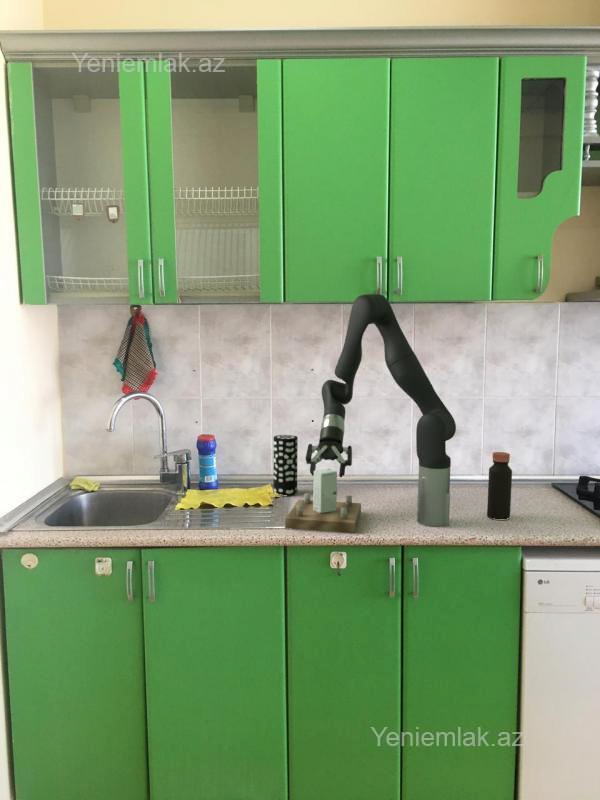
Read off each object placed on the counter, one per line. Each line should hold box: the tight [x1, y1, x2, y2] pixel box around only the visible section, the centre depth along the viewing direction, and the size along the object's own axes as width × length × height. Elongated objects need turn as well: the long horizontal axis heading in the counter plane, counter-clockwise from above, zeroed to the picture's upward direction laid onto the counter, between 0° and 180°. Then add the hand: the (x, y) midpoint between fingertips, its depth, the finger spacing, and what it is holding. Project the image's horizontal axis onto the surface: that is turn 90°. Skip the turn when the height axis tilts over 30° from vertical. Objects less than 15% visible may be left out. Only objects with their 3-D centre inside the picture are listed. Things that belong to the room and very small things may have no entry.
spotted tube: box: [272, 434, 299, 497], centre depth 214 cm, size 8×8×20 cm
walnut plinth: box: [284, 492, 362, 534], centre depth 185 cm, size 20×20×6 cm
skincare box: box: [312, 468, 338, 513], centre depth 185 cm, size 6×4×12 cm
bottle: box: [486, 451, 513, 519], centre depth 188 cm, size 7×7×20 cm
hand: (326, 475), depth 187 cm, fingers open, 8 cm apart
